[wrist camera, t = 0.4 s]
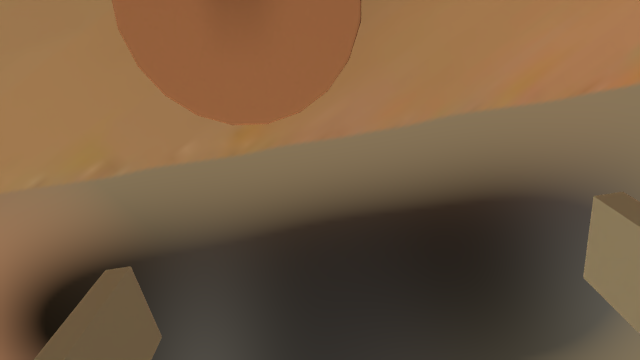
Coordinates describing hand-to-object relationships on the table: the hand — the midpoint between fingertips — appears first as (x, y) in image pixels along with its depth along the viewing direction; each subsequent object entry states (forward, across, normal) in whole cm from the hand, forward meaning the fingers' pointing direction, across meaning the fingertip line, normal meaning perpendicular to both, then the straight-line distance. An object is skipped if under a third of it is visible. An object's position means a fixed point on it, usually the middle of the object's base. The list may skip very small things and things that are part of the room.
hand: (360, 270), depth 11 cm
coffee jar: (+27, -3, +8) cm, 28 cm away
